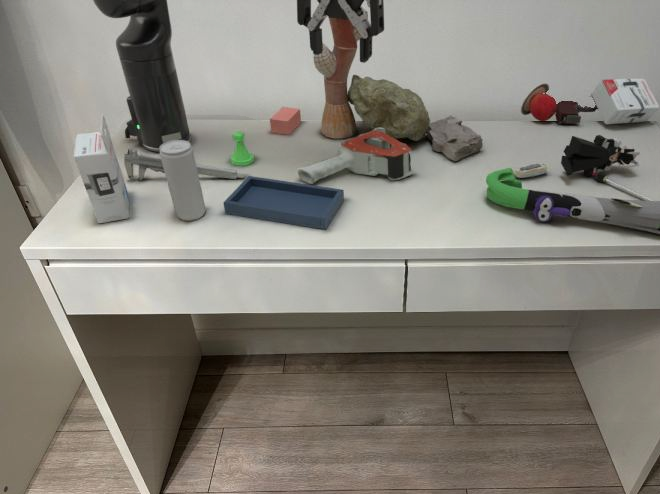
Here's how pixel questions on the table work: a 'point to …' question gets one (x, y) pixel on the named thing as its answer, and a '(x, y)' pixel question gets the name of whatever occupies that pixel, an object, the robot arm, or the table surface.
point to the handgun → (570, 112)
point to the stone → (453, 138)
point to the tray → (285, 202)
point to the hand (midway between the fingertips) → (341, 57)
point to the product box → (102, 175)
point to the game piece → (241, 151)
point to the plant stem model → (338, 79)
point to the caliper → (156, 165)
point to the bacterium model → (530, 170)
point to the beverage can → (182, 179)
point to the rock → (389, 107)
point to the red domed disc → (539, 103)
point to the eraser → (285, 120)
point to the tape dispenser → (365, 158)
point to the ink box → (624, 100)
